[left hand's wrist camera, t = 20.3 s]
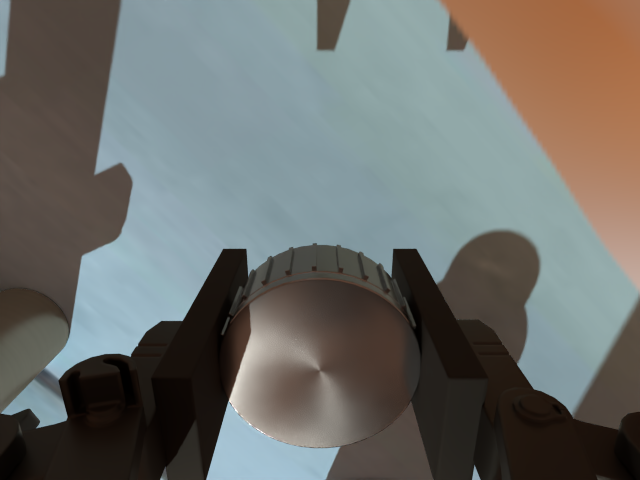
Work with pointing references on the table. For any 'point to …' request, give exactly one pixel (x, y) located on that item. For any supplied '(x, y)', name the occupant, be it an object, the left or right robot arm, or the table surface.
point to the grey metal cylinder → (27, 339)
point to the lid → (319, 348)
